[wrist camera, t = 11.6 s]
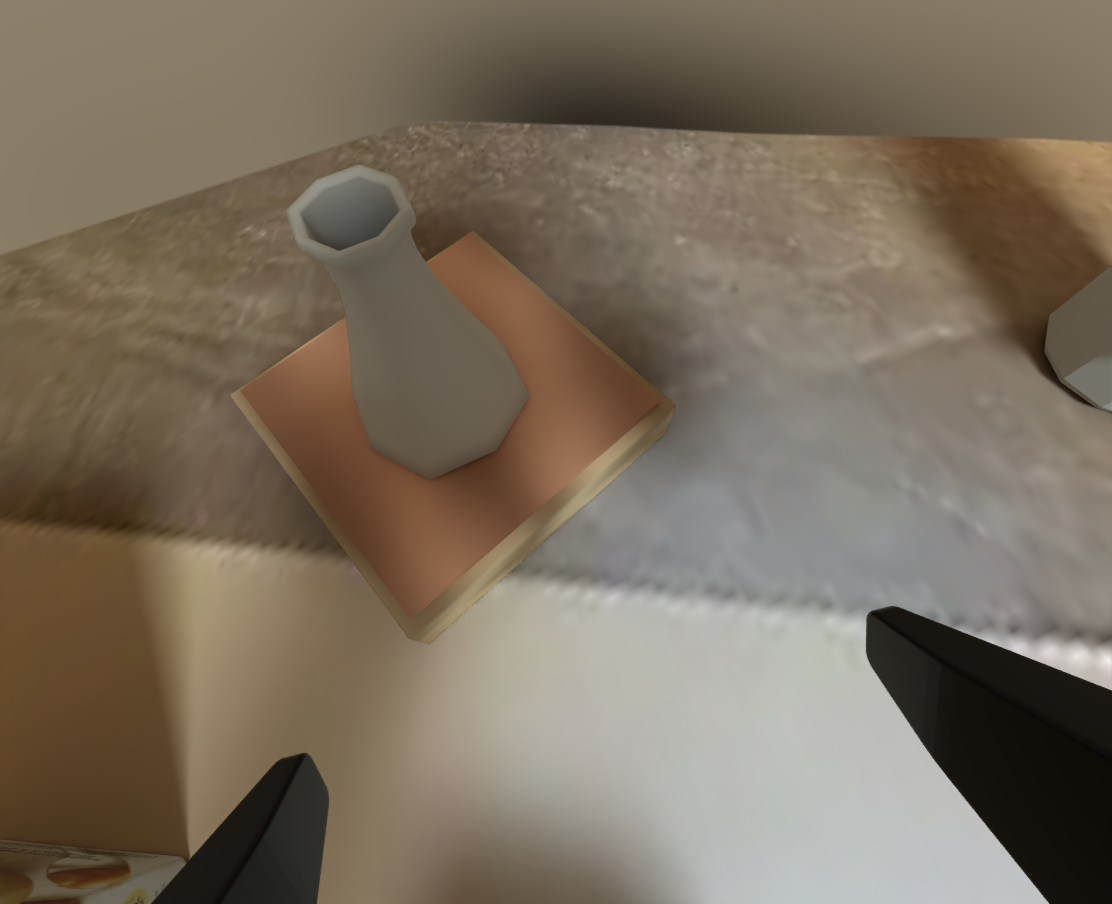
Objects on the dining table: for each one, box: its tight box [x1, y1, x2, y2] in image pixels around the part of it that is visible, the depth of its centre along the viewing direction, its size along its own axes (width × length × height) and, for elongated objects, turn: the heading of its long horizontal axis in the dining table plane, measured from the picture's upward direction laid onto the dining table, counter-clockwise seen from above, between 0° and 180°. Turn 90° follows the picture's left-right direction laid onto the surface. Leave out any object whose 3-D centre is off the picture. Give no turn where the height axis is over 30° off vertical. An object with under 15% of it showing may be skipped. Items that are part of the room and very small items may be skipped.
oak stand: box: [230, 230, 676, 644], centre depth 24 cm, size 14×14×3 cm
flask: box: [286, 164, 530, 480], centre depth 18 cm, size 7×7×10 cm
